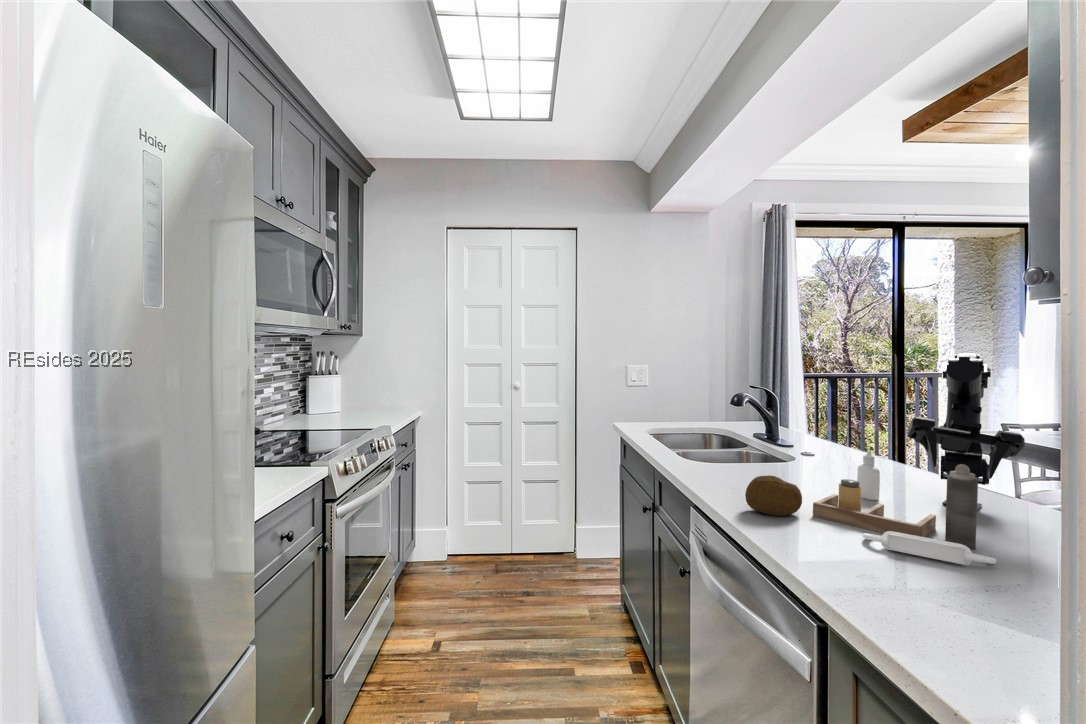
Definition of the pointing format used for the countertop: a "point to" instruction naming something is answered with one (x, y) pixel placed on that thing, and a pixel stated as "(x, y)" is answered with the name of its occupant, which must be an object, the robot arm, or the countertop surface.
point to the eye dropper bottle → (869, 478)
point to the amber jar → (850, 495)
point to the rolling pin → (928, 548)
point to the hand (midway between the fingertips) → (961, 472)
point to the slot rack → (871, 518)
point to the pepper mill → (961, 507)
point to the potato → (773, 496)
